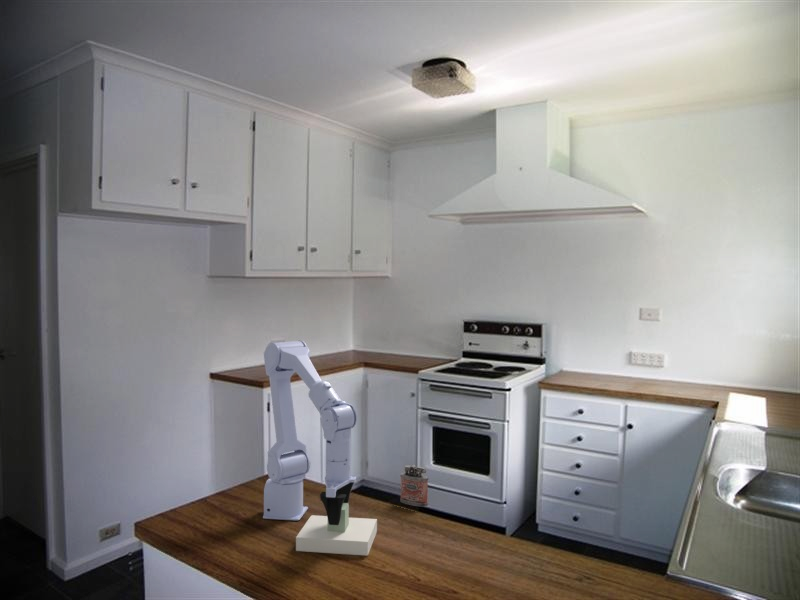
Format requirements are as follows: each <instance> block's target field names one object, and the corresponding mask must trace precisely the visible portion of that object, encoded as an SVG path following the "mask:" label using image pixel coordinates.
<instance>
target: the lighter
mask: <svg viewBox="0 0 800 600" xmlns="http://www.w3.org/2000/svg"><path fill="white" fill-rule="evenodd" d="M426 473H427V469H426V467H421V466H417V465H415V464H412V465H405V466H404V472H400V473H399V474H400V501H399V502H400V503H403V504H405V505H409V506H415V507H422V508H423V507H424V508H425V507H428V506H429V500H428V499H429V497H428V491H429V489H428V485H429V484H428V481H429V476H427V475H424V474H426Z"/></svg>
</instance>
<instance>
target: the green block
mask: <svg viewBox="0 0 800 600" xmlns="http://www.w3.org/2000/svg"><path fill="white" fill-rule="evenodd" d="M349 506H350V503H349V502H348V503H343V505H342V510H341V517H340V522H339V525H329V522H328V531H334V532H345V531H346V529H347V527H348V525H349V516H350V515H349V514H350V507H349Z"/></svg>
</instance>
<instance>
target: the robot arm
mask: <svg viewBox="0 0 800 600" xmlns="http://www.w3.org/2000/svg"><path fill="white" fill-rule="evenodd" d="M310 353H311V351H310V348H309V347H308V345H307V343H306V341H304V340H301V339H300V340H293V341H292V340H291V341H280V342H274V341H271V342H269V343H268V344H267V346H266V347H265V350H264V352H263V360H264V368H265V375H266V376H268V378H269V387H270V396H271V404H272V405H271V406H272V414H273V423H274V432H275V438H276V442H275V443H274V445H273V446H272V447H271V448H270V449H269V450H268V451H267V463H266V472H267V475H268V479H266V482H265V484H264V489H263V516H262V518H263V519H266V520H267V519H268V520H284V521H300V520H301V518H302V517H303V516H304V515H305V513H306V512H307V510H308V509H309V507H308V506H304V479H306V478H307V477H306V475H308V473H309V471H310V469H311V458H310V455H309V454H308V450H307V445H306V444H305V443H303V442H302V441H300V440H298V436H297V426H296V418H295V409H294V403H293V402H294V401H293V394H292V383H291V379H292V376H293V375H294V374H295V373H296V374H297V375H298V377H299V378H300V380H302V382H303V383H304V384H305V385H306V387H307V388H308V389H309V391H308V398H309V400H311V402H312V404H313V405H314V407H315V408H316V409H317V411H318V412H319V414H320V416H321V417H320V426H321V428H322V431H323V438H324V440H325V477H324V483H325V486H326V488H325V491H322V492H320V494H319V499H320V501H321V502H322V504H323V506H324V509H325V512H326V516H327V517H328V522H329V525H339V522H340V517H341V510H342V505H343V503H349V501H350V496H351V492H352V489H353V487H354V486H353V485H354V484H355V482H356V480H357V476H352V429H353V428H354V427H355V426H356V425H357V417H358V416H357V412H356V410H355V408H354V406H353V404H352V403H349V402H346V401H344V400H342V399H341V398H340V396H339V395H338V393H337V392H336V391H335V389H334V387H333V386H332V385H331V384H330V382H329V381H326V380H322V378H321V376H320V375H319V373H318V371H317V369H316V368H315V366H314V364H313V363H312V361H311V359H310V355H311V354H310Z"/></svg>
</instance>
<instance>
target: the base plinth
mask: <svg viewBox="0 0 800 600" xmlns="http://www.w3.org/2000/svg"><path fill="white" fill-rule="evenodd" d="M377 533H378V519H377V518H366V517H365V518H364V517H349V525H348V527H347V529H346V531H345V532H334V531H328V517H327V515H314V514H312V515H311V516H310V517H309V518H308V520H306V522H305V524H304V525H303V527H302V528H301V529H300V531H299V532H298V534H297V535H296V537H295V552H307V553H310V552H311V553H320V554H321V553H322V554H336V555H337V554H338V555H339V554H340V555H353V556H368V557H369V554H370V552H371V549H372V546H373V542H374V540H375V537H376V535H377Z"/></svg>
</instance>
